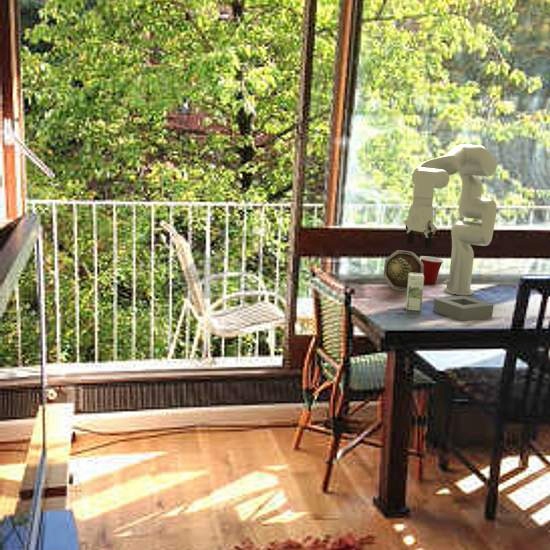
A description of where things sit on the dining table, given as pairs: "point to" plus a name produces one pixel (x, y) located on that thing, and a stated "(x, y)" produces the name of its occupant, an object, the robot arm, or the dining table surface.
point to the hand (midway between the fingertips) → (418, 245)
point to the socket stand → (463, 308)
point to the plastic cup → (431, 269)
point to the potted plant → (401, 268)
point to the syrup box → (414, 291)
